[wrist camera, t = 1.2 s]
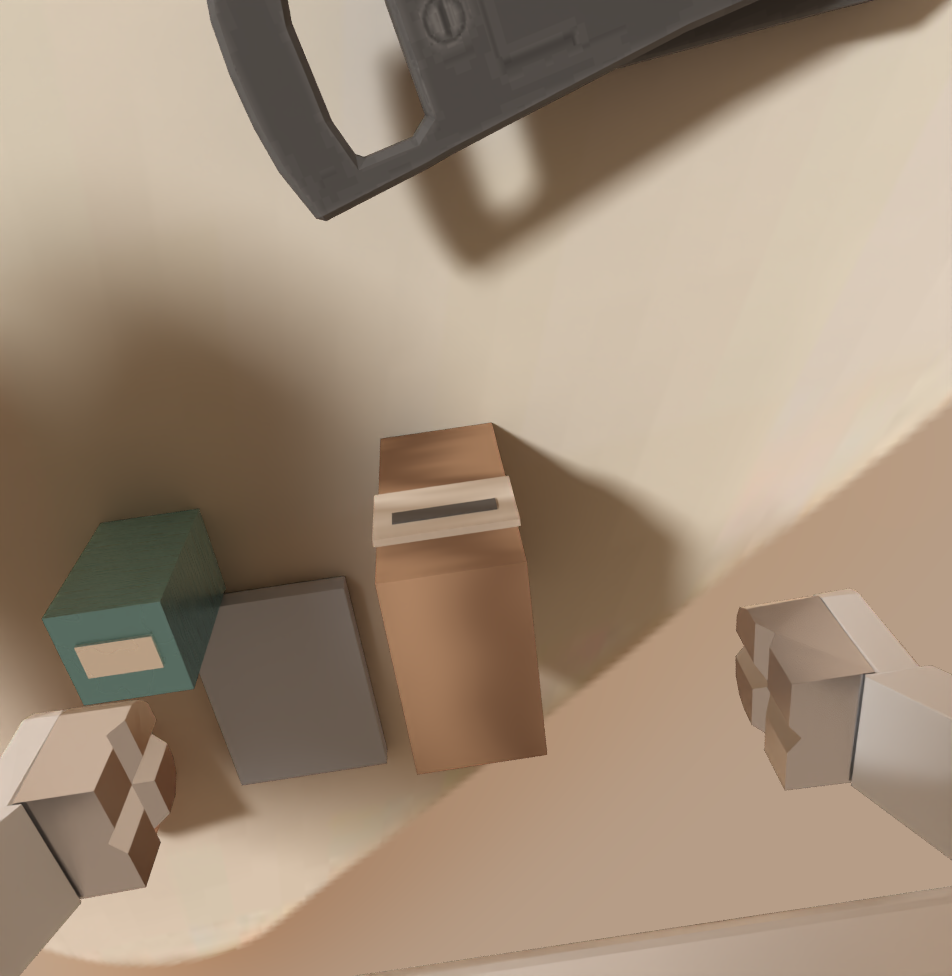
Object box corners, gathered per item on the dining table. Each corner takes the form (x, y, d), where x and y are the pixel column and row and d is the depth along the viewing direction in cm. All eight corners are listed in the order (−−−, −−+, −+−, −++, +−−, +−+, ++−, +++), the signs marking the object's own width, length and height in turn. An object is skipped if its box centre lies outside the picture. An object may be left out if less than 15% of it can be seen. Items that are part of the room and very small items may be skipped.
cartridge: (133, 601, 39) (82, 708, 33) (100, 522, 37) (40, 621, 30) (225, 587, 39) (193, 691, 33) (199, 508, 37) (158, 603, 30)
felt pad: (245, 771, 45) (242, 785, 44) (180, 600, 39) (176, 613, 38) (387, 749, 45) (386, 763, 44) (344, 576, 39) (343, 588, 38)
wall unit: (411, 604, 40) (415, 780, 31) (377, 431, 35) (370, 575, 26) (513, 589, 40) (550, 759, 31) (493, 414, 36) (529, 551, 26)
